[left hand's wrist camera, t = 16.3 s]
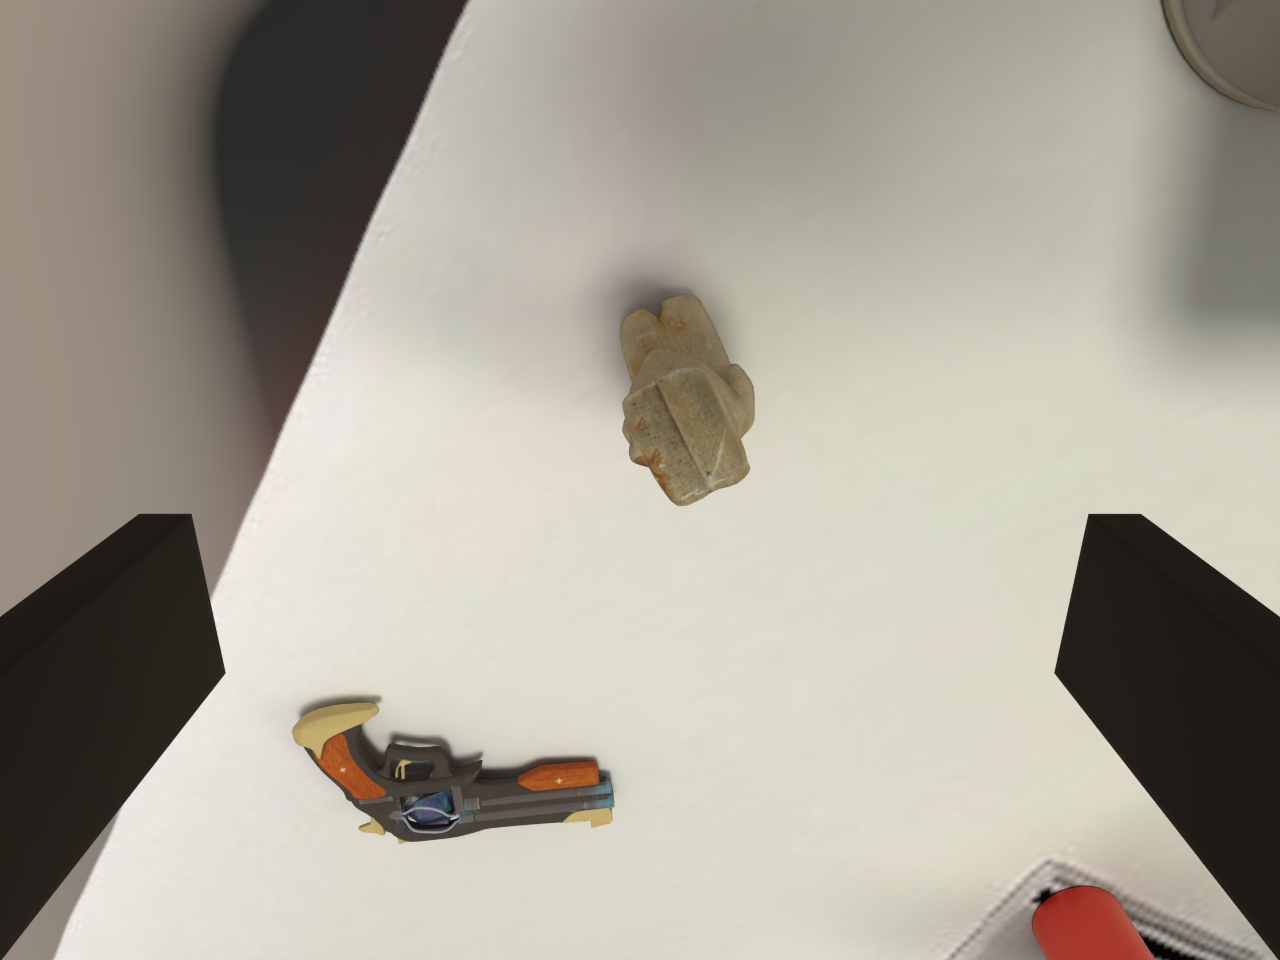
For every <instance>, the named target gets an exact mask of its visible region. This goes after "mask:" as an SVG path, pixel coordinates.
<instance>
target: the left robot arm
mask: <svg viewBox="0 0 1280 960" xmlns="http://www.w3.org/2000/svg"><path fill="white" fill-rule="evenodd" d="M1163 2H1164V7H1165V12H1166V15H1167V18H1168V22H1169V25H1170V28H1171V31H1172V33H1173V35H1174V37H1175V40H1176V42H1177V44H1178V46H1179V48H1180V49H1181V51H1182V53H1183V54H1184V56H1185V58H1186V59H1187V60H1188V62H1189V63H1190V64H1191V66H1192V67H1193V68H1194V70H1195V71H1196V72H1197V73H1198V74H1199V75H1200V76H1201V77H1202V78H1203V79H1204V80H1205V81H1206V82H1208V83H1209V84H1210V85H1211V86H1213V87H1214V88H1215V89H1216V90H1218V91H1220V92H1221V93H1223V94H1225V95H1226V96H1228V97H1230V98H1232V99H1234V100H1236V101H1239V102H1241V103H1243V104H1246V105H1250V106H1253V107H1256V108H1261V109H1267V110H1273V111H1280V0H1163ZM224 675H225V668H224V663H223V659H222V654H221V649H220V645H219V640H218V635H217V631H216V626H215V621H214V617H213V612H212V607H211V603H210V598H209V593H208V589H207V584H206V579H205V575H204V570H203V565H202V561H201V556H200V551H199V547H198V542H197V537H196V533H195V528H194V523H193V519H192V514H138V515H137V516H136V517H134V518H133V519H132V520H130V521H129V522H128V523H126V524H125V525H124V526H122V527H121V528H119V529H118V530H117V531H115V532H114V533H113V534H111V535H110V536H109V537H107V538H106V539H105V540H103V541H102V542H101V543H99V544H98V545H97V546H95V547H94V548H93V549H91V550H90V551H89V552H87V553H86V554H84V555H83V556H82V557H80V558H79V559H78V560H76V561H75V562H74V563H72V564H71V565H70V566H68V567H67V568H66V569H64V570H63V571H61V572H60V573H59V574H57V575H56V576H55V577H53V578H52V579H51V580H49V581H48V582H47V583H45V584H44V585H43V586H41V587H40V588H39V589H37V590H36V591H34V592H33V593H32V594H30V595H29V596H28V597H26V598H25V599H24V600H22V601H21V602H20V603H18V604H17V605H16V606H14V607H13V608H12V609H10V610H9V611H7V612H6V613H5V614H3V615H2V616H1V617H0V960H2V959H3V957H4V956H5V955H6V953H7V952H8V951H9V950H10V948H11V947H12V946H13V945H14V943H15V942H16V941H17V939H18V938H19V937H20V936H21V934H22V933H23V932H24V930H25V929H26V928H27V927H28V925H29V924H30V923H31V921H32V920H33V919H34V918H35V916H36V915H37V914H38V913H39V911H40V910H41V909H42V907H43V906H44V905H45V903H46V902H47V901H48V900H49V898H50V897H51V896H52V895H53V893H54V892H55V891H56V890H57V888H58V887H59V886H60V884H61V883H62V882H63V881H64V879H65V878H66V877H67V875H68V874H69V873H70V872H71V870H72V869H73V868H74V866H75V865H76V864H77V863H78V861H79V860H80V859H81V857H82V856H83V855H84V854H85V852H86V851H87V850H88V849H89V847H90V846H91V845H92V843H93V842H94V841H95V840H96V838H97V837H98V836H99V834H100V833H101V832H102V831H103V829H104V828H105V827H106V826H107V824H108V823H109V822H110V820H111V819H112V818H113V817H114V815H115V814H116V813H117V811H118V810H119V809H120V808H121V806H122V805H123V804H124V802H125V801H126V800H127V799H128V797H129V796H130V795H131V794H132V792H133V791H134V790H135V788H136V787H137V786H138V785H139V783H140V782H141V781H142V779H143V778H144V777H145V776H146V774H147V773H148V772H149V770H150V769H151V768H152V767H153V765H154V764H155V763H156V762H157V760H158V759H159V758H160V756H161V755H162V754H163V753H164V751H165V750H166V749H167V747H168V746H169V745H170V744H171V742H172V741H173V740H174V739H175V737H176V736H177V735H178V733H179V732H180V731H181V730H182V728H183V727H184V726H185V724H186V723H187V722H188V721H189V719H190V718H191V717H192V715H193V714H194V713H195V712H196V710H197V709H198V708H199V707H200V705H201V704H202V703H203V701H204V700H205V699H206V698H207V696H208V695H209V694H210V692H211V691H212V690H213V689H214V687H215V686H216V685H217V683H218V682H219V681H220V680H221V678H222V677H223V676H224ZM1055 675H1056V676H1057V677H1058V678H1059V680H1060V681H1061V682H1062V683H1063V685H1064V686H1065V687H1066V689H1067V690H1068V691H1069V692H1070V694H1071V695H1072V696H1073V698H1074V699H1075V700H1076V701H1077V703H1078V704H1079V705H1080V707H1081V708H1082V709H1083V710H1084V712H1085V713H1086V714H1087V715H1088V717H1089V718H1090V719H1091V721H1092V722H1093V723H1094V724H1095V726H1096V727H1097V728H1098V730H1099V731H1100V732H1101V733H1102V735H1103V736H1104V737H1105V739H1106V740H1107V741H1108V742H1109V744H1110V745H1111V746H1112V747H1113V749H1114V750H1115V751H1116V753H1117V754H1118V755H1119V756H1120V758H1121V759H1122V760H1123V762H1124V763H1125V764H1126V765H1127V767H1128V768H1129V769H1130V771H1131V772H1132V773H1133V774H1134V776H1135V777H1136V778H1137V779H1138V781H1139V782H1140V783H1141V785H1142V786H1143V787H1144V788H1145V790H1146V791H1147V792H1148V794H1149V795H1150V796H1151V797H1152V799H1153V800H1154V801H1155V802H1156V804H1157V805H1158V806H1159V808H1160V809H1161V810H1162V811H1163V813H1164V814H1165V815H1166V817H1167V818H1168V819H1169V820H1170V822H1171V823H1172V824H1173V826H1174V827H1175V828H1176V829H1177V831H1178V832H1179V833H1180V834H1181V836H1182V837H1183V838H1184V840H1185V841H1186V842H1187V843H1188V845H1189V846H1190V847H1191V849H1192V850H1193V851H1194V852H1195V854H1196V855H1197V856H1198V858H1199V859H1200V860H1201V861H1202V863H1203V864H1204V865H1205V866H1206V868H1207V869H1208V870H1209V872H1210V873H1211V874H1212V875H1213V877H1214V878H1215V879H1216V881H1217V882H1218V883H1219V884H1220V886H1221V887H1222V888H1223V890H1224V891H1225V892H1226V893H1227V895H1228V896H1229V897H1230V898H1231V900H1232V901H1233V902H1234V904H1235V905H1236V906H1237V907H1238V909H1239V910H1240V911H1241V913H1242V914H1243V915H1244V916H1245V918H1246V919H1247V920H1248V921H1249V923H1250V924H1251V925H1252V927H1253V928H1254V929H1255V930H1256V932H1257V933H1258V934H1259V936H1260V937H1261V938H1262V939H1263V941H1264V942H1265V943H1266V945H1267V946H1268V947H1269V948H1270V950H1271V951H1272V952H1273V953H1274V955H1275V956H1276V957H1277V959H1278V960H1280V617H1279V616H1278V615H1277V614H1275V613H1274V612H1273V611H1271V610H1270V609H1268V608H1267V607H1266V606H1264V605H1263V604H1262V603H1260V602H1259V601H1258V600H1256V599H1255V598H1254V597H1252V596H1251V595H1250V594H1248V593H1247V592H1246V591H1244V590H1243V589H1241V588H1240V587H1239V586H1237V585H1236V584H1235V583H1233V582H1232V581H1231V580H1229V579H1228V578H1227V577H1225V576H1224V575H1223V574H1221V573H1220V572H1219V571H1217V570H1216V569H1214V568H1213V567H1212V566H1210V565H1209V564H1208V563H1206V562H1205V561H1204V560H1202V559H1201V558H1200V557H1198V556H1197V555H1196V554H1194V553H1193V552H1192V551H1190V550H1189V549H1187V548H1186V547H1185V546H1183V545H1182V544H1181V543H1179V542H1178V541H1177V540H1175V539H1174V538H1173V537H1171V536H1170V535H1169V534H1167V533H1166V532H1165V531H1163V530H1162V529H1161V528H1159V527H1158V526H1156V525H1155V524H1154V523H1152V522H1151V521H1150V520H1148V519H1147V518H1146V517H1144V516H1143V515H1142V514H1088V519H1087V523H1086V528H1085V533H1084V537H1083V542H1082V547H1081V551H1080V556H1079V561H1078V565H1077V570H1076V575H1075V579H1074V584H1073V589H1072V593H1071V598H1070V603H1069V607H1068V612H1067V617H1066V621H1065V626H1064V631H1063V635H1062V640H1061V645H1060V649H1059V654H1058V659H1057V663H1056V668H1055Z"/></svg>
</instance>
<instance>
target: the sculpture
mask: <svg viewBox="0 0 1280 960" xmlns="http://www.w3.org/2000/svg"><path fill="white" fill-rule="evenodd" d="M620 340H621V345H622V350H623V354H624V358H625V361H626V364H627V368H628V371H629V374H630V378H631V380H632V383H633V384H632V386H631V389H630V394H628V395H627V396H626V398H625V399H624V400H623V403H622V404H623V411H624V415H625V420H624V423H623V428H622V431H623V434H624V436H625V438H626V439H627V441H628V442H629V443H630V447H629V456H630V459H631V461H632V462H634V463H636V464H639V465H642V466H646V467H649V468H650V470H651V472H652V474H653V476H654V478H655V479H656V481H657V482H658V484H659V485H660V487H661V489H662V490H663V491H664V493H665V494H666V495H667V497H668V498H669V499H670V500H671V501H672V502H673V503H674V504H676V505H677V506H687V505H689V504H692V503H694V502H696V501H698V500H700V499H702V498H704V497H705V496H707V495H708V494H709V493H711V492H713V491H716V490H718V489H721V488H725V487H729V486H732V485H735V484H737V483H738V482H740V481H741V480H742V479H744V478H745V476H746V475H747V474H748V472H749V471H750V466H749V464H748V461H747V457H746V453H745V449H744V446H743V444H742V441H741V438H742V437H743V436H744V435H745V434H746V433H747V431H748V430H749V429H750V428H751V426H752V425H753V422H754V418H755V405H754V388H753V384H752V382H751V380H750V379H749V377H748V376H747V374H746V373H745V371H744V370H743V369H742V368H741V367H740V366H739V365H737V364H730V362H729V359H728V357H727V354H726V352H725V350H724V347H723V345H722V342H721V340H720V338H719V336H718V334H717V332H716V329H715V327H714V325H713V324H712V322H711V320H710V318H709V316H708V314H707V312H706V311H705V309H704V307H703V305H702V303H701V302H700V300H699V299H698V298H697V297H695V296H693V295H681V296H676V297H672V298H669V299H667V300H665V301H663V303H662V306H661V314H660V315H655V314H653V313H651V312H649V311H647V310H645V309H642V310H638V311H635V312H633V313H631V314H630V315H628V316H627V317H626V318H625V320H624V321H623V323H622V325H621V328H620Z"/></svg>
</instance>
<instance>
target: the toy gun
mask: <svg viewBox="0 0 1280 960" xmlns="http://www.w3.org/2000/svg"><path fill="white" fill-rule="evenodd" d="M378 712H379V708H378V706H377V705H375V704H373V703H352V704H338V705H331V706H327V707H323V708H319V709H316V710H313V711H311V712H310V713H308V714H306V715H305V716H303V717H302V718H301V719H300V720H299V721H298V722H297V723H296V725H295V726H294V727H293V730H292V734H293V738H294V740H295V742H296V743H297V744H298V745H300V746H303V747H304V748H305V750H306V751H307V753H308V754H309V756H310V757H311V758H312V760H313V761H314V762H315V764H316V765H317V766H318V767H319V768H320V770H321V771H322V772H323V773H324V774H325V775H326V776H328V777H329V778H330V779H331V780H332V781H333V782H334V783H335V784H336V785H337V786H339V787H340V788H341V790H342V791H343V792H344V794H345V796H346V799H347V800H349V801H352V803H353V804H354V806H355V807H356V808H358V809H359V810H361V811H362V812H364V813H366V814H368V815H369V816H371V822H369V823H366V824H363V825H361V826H359V828H358V829H359V830H360V831H362V832H367V833H378V834H380V835H385V832H386V831H387V832H390V833H392V834H393V835H394V836H396V837H397V838H398V842H399V844H400V843H405V842H417V841H427V840H437V839H446V838H453V837H459V836H463V835H467V834H471V833H474V832H478V831H481V830H484V829H489V828H498V827H507V826H518V825H530V824H543V823H557V822H561V823H567V822H578V821H591V828H593V827H597V826H601V825H605V824H609V823H611V822H610V821H613V819H612V807H614V795H613V791H612V789H611V779H610V778H608V779H606V777H605V776H599V772H598V765H597V764H596V762H595V761H592V762H576V763H563V764H549V765H541V766H538V767H536V768H534V769H532V770H529V771H527V772H525V773H523V774H521V775H519V776H518V777H516V778H506V779H496V780H489V779H478V778H476V777H477V775H478V774H479V772H480V770H481V766H482V760H480V761H477V762H475V763H472V764H470V765H467V766H463V767H459V768H454V769H453V768H452V767H451V765H450V758H449V755H448V754H447V752H446V751H445V750H444V749H443V748H441V747H439V746H432V747H409V746H403V745H398V744H389V745H388V747H387V749H386V759H385V764H383V765H381V766H380V765H379V764H377V763H376V762H375V761H374V760H373V758H372V757H371V756H370V754H369V753H368V752H367V750H366V749H365V747H364V746H363V744H362V741H361V735H360V726H361V724H362V723H364V722H366V721H368V720H369V719H371V718H372V717H373V716H375V715H376V714H377V713H378ZM394 758H401V761H400V762H399V764H398V766H397V768H396V772H393V771H392V764H391V762H392V760H393V759H394ZM412 760H415V761H424V760H430V761H432V762H433V763H434V768H433V770H432V771H429V772H420V773H410V774H405V768H404V766H405V765H406V764H409V763H412ZM399 766H401V774H399V773H398V768H399ZM451 789H452V791H450V790H451ZM420 794H424V795H423V796H422V797H421V798H419V799H418V800H417V801H415V802H414V803H413V804H412V805H411V806H409V805H407V804H406V803H407V802H408V801H409V800H410V798H411V797H412V795H420ZM404 796H409V797H408V799H407V800H405V799H404ZM406 808H407V809H406ZM454 811H455V813H454ZM453 813H454V814H453ZM407 814H408V815H409V816H410V817H412V818H413V819H414V820H415V821H417V822H414V821H411V820H409V819H408V816H407ZM456 815H459V817H458V818H456V819H454V820H450V819H451V817H453V816H456ZM385 830H386V831H385Z"/></svg>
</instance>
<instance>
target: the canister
mask: <svg viewBox="0 0 1280 960" xmlns="http://www.w3.org/2000/svg"><path fill="white" fill-rule="evenodd" d="M1032 928H1033V932H1034V935H1035V937H1036V939H1037V941H1038V943H1039V945H1040V947H1041V949H1042V951H1043V953H1044V955H1045V957H1046V959H1047V960H1155V959H1154V957H1153V955H1152V954H1151V952H1150V951H1149V949H1148V947H1147V946H1146V944H1145V943H1144V941H1143V940H1142V938H1141V936H1140V935H1139V933H1138V932H1137V930H1136V928H1135V927H1134V925H1133V924H1132V922H1131V921H1130V919H1129V917H1128V916H1127V914H1126V913H1125V911H1124V909H1123V908H1122V906H1121V905H1120V903H1119V902H1118V900H1117V899H1116V898H1115V897H1114V896H1113V895H1112V894H1110V893H1109V892H1107V891H1105V890H1103V889H1100V888H1096V887H1088V886H1082V887H1074V888H1069V889H1066V890H1063V891H1060V892H1058V893H1056V894H1054V895H1052V896H1051V897H1049V898H1048V899H1047V900H1045V901H1044V902H1043V903H1042V904H1041V905H1040V906H1039V908H1038V909H1037V911H1036V912H1035V915H1034V917H1033V922H1032Z"/></svg>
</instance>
